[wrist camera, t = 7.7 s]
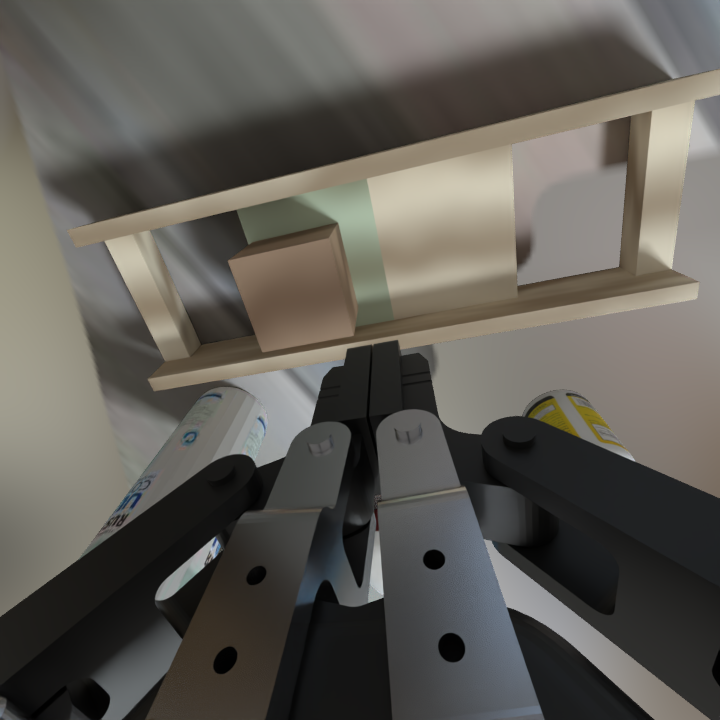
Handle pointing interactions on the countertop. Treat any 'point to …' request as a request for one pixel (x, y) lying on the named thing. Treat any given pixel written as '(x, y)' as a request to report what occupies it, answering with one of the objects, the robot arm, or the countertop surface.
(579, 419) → the supplement bottle
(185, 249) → the countertop surface
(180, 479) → the spray can
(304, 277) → the walnut block
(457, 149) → the frame
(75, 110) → the countertop surface
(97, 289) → the countertop surface
